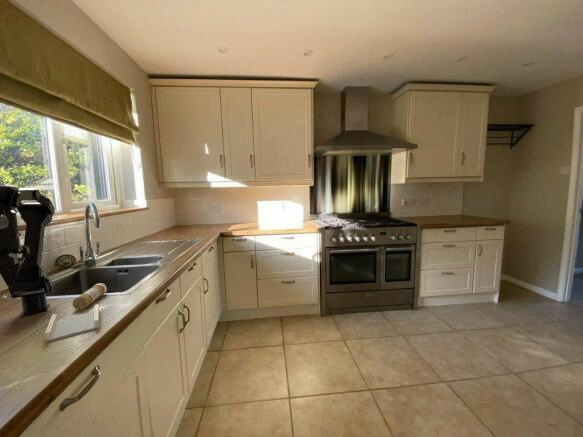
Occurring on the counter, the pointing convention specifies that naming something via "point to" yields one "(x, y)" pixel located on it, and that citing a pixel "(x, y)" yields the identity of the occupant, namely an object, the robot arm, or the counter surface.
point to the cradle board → (72, 325)
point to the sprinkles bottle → (89, 296)
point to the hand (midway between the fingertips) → (10, 285)
